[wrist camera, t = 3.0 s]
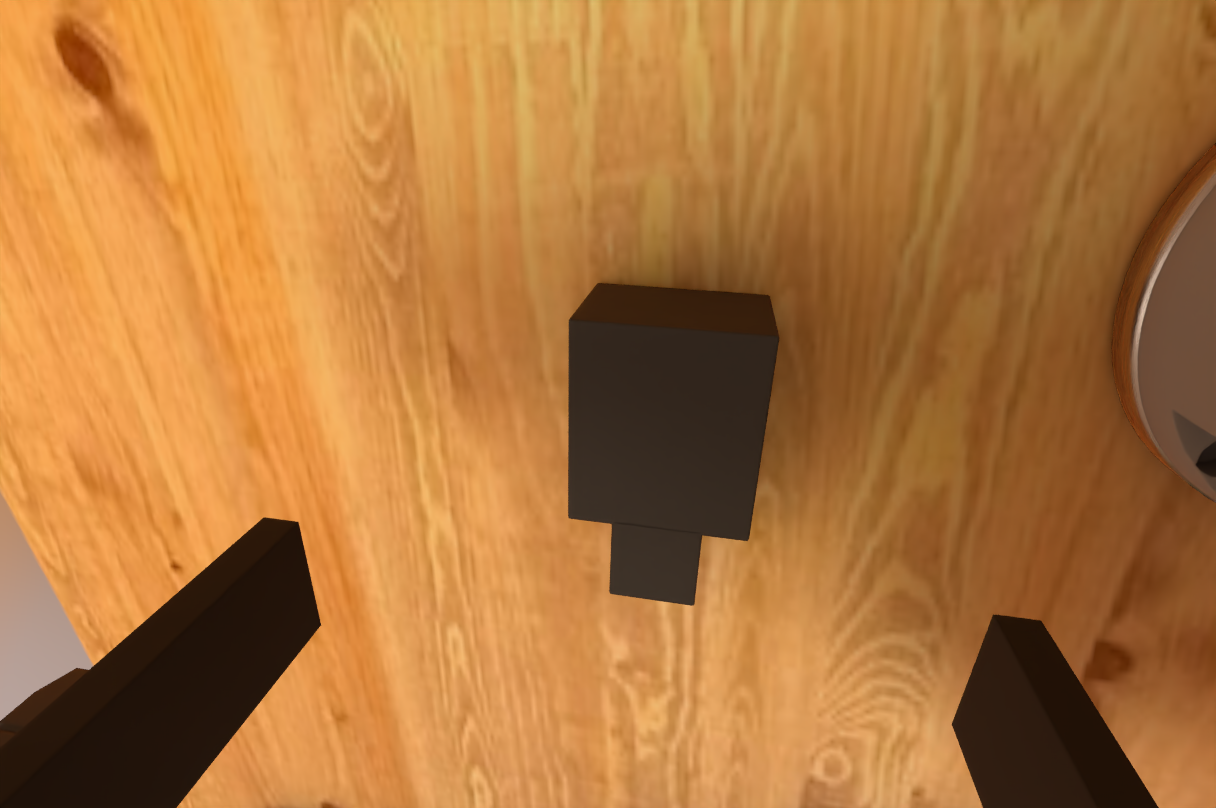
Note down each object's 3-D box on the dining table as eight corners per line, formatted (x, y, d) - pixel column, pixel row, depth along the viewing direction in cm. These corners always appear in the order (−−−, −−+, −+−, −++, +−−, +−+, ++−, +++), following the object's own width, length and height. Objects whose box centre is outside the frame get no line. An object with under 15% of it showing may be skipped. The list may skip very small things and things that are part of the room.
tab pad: (597, 282, 22) (568, 318, 18) (770, 294, 21) (780, 336, 17) (592, 516, 26) (567, 588, 22) (736, 535, 26) (737, 613, 22)
